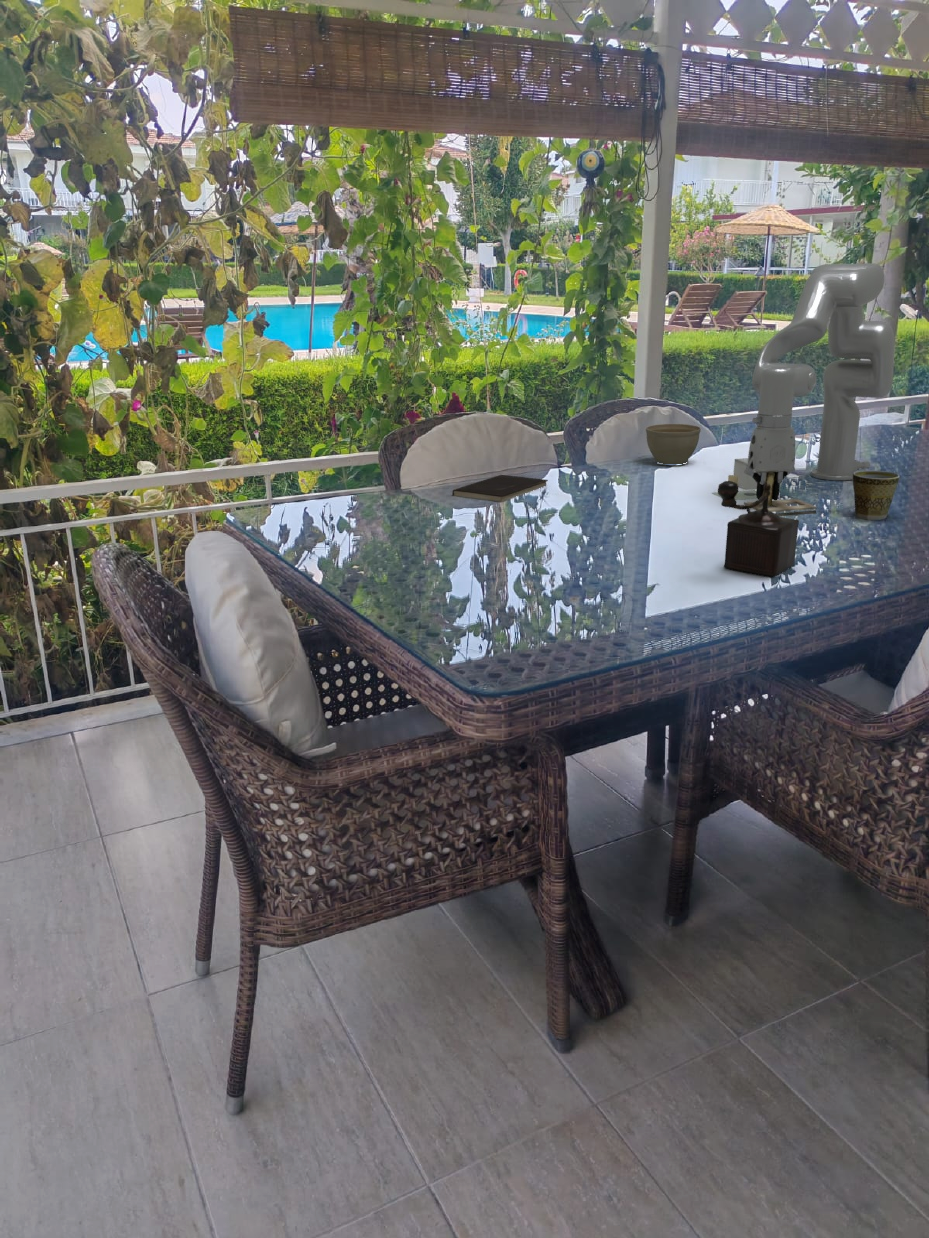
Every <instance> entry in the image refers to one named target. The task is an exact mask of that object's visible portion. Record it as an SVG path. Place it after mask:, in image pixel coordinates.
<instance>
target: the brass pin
mask: <svg viewBox="0 0 929 1238" xmlns="http://www.w3.org/2000/svg"><path fill="white" fill-rule="evenodd" d="M774 477H775V472H767V473H766V481H765V484H770V486H771V488H770V490H769V491H770V496H769V497H768V508H771V507H773V506H772V501H773V488H774ZM762 506H763V502H762V504H761V506H760V507H762Z"/></svg>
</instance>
